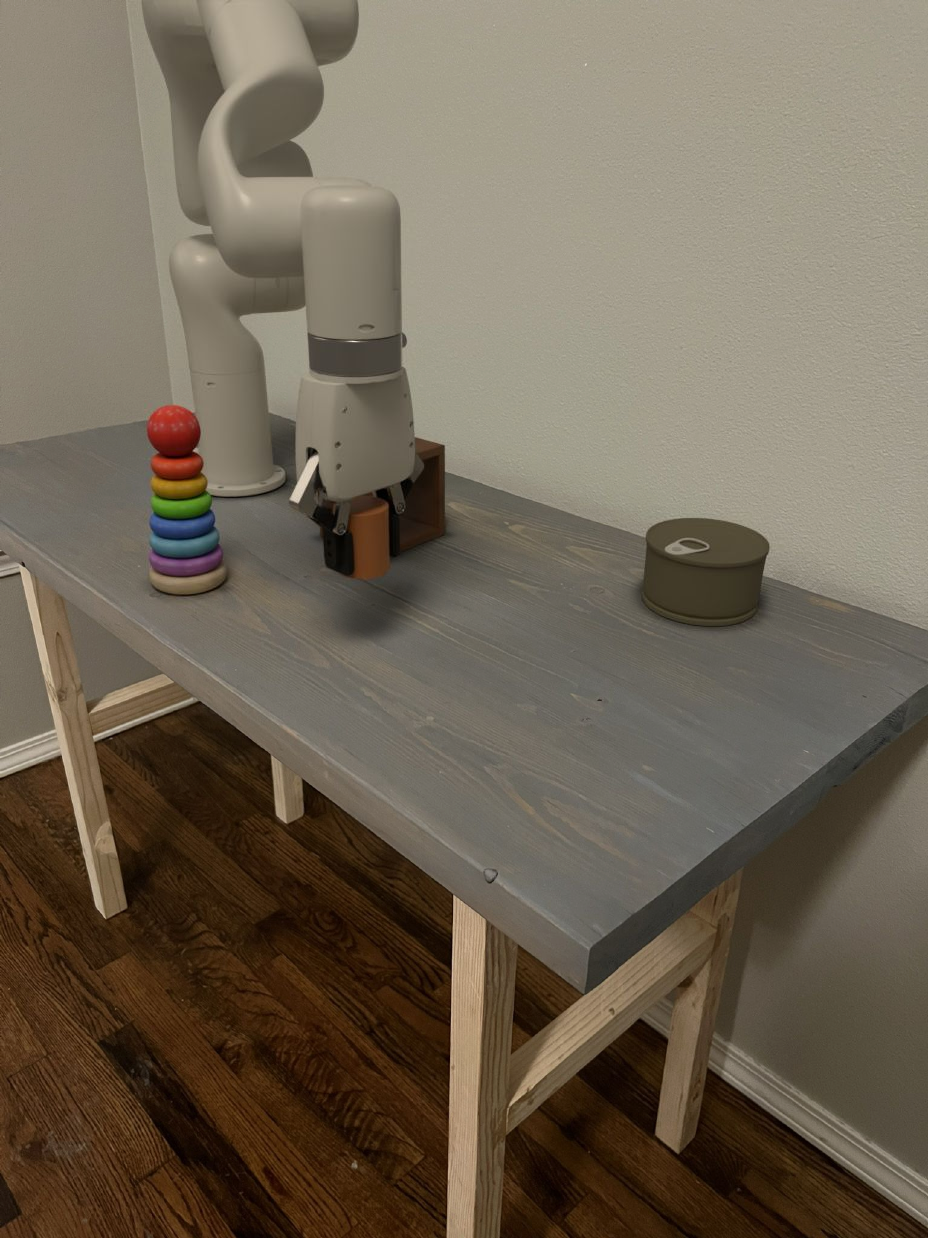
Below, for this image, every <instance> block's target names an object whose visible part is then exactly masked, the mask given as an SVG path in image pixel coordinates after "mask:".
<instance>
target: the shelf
mask: <svg viewBox="0 0 928 1238" xmlns="http://www.w3.org/2000/svg"><path fill="white" fill-rule="evenodd" d="M415 451H416V453H417V454H418V456H419V457H420V459H421V460H422V461H423V463H424V469H423V470H422V472H421V473H420V475H419V476H418V477H417V479H416V480H415V482H414V483H413V486H412V489H411V490H410V492H409V494H408V496H407V497H406V499H405V509H404V511H403V512H402V513H401V514H399V522H400V553H401V552H404V551H406V550H409V549H411V548H414V547H417V546H419V545H422V544H424V543H427V542H430V541H431V540H435V539H437V538H440V537H443V536H444V535H446V445H445V444H442V443H438V442H435V441H431V440H427V439H424V438H420V437H418V436H415ZM319 493H320V489H318V490H317V492H316V495H317V501H318V500H319ZM361 496H373V494H372V492H371V493H368V494H365V495H361ZM333 505H334V502H333V504H332V511H331V513H332V514H333V515H334V510H333ZM319 538H320V539H322V540H323V529H322V528H320V527H319Z"/></svg>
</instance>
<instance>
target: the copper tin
mask: <svg viewBox="0 0 928 1238" xmlns="http://www.w3.org/2000/svg"><path fill="white" fill-rule="evenodd" d="M335 508H336V503H334V505H333V510H334V514H335ZM346 531H348V532H351V533H352V535H353V552H354V572H353V574H352V575H349V576H345V575H343V574H341V573H338V574H339V575H341V576H343V577H345V578H349V579H355V580H371V579H375V578H380V577H382V576H384V575H386V574H387V573H388V572H389V571H390V569H391V556H390V541H389V504H388V502H387V501H385V500H383V499H381V498H378V497H373V496H358V497H355V498H352V501H351V507H350V513H349V519H348V525H347V530H346Z"/></svg>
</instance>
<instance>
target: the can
mask: <svg viewBox="0 0 928 1238" xmlns="http://www.w3.org/2000/svg"><path fill="white" fill-rule="evenodd" d="M645 543H646V546H645V547H646V548H645V558H644V559H645V560H644V569H643V570H644V571H643V580H642V581H643V582H642V589H641V600H642V602H643V604H644V605H645V606H646V607H647V608H648V609H649V610H650V611H652V612H654V614H657V615H659V616H660V617H662V618H665V619H668V620H671V621H674V622H678V623H681V624H685V625H691V626H698V627H699V626H700V627H726V626H731V625H732V626H733V625H736V624H737V625H738V624H741V623H743V622H746V621H747V620H750V619H752V617H754V615H756V612H757V611H758V604H759V599H760V593H761V587H762V582H763V577H764V571H765V567H766V566H765V565H766V561H767V556H768V555H769V552H770V543H769V541H768V539H767V538H766V537H765V536H764V535H762V534H761V533H759V532H758V531H756V530H755V529H752V528H750V527H749V526H745V525H742V524H739V523H735V522H730V521H727V520H722V519H714V518H707V517H706V518H705V517H680V518H672V519H667V520H664V521H663V520H662V521H660V522H657V523H655V524H653V525H651V526H650V527H649V528H648V529H647V531H646V533H645Z"/></svg>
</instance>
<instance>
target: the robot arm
mask: <svg viewBox="0 0 928 1238" xmlns="http://www.w3.org/2000/svg"><path fill="white" fill-rule="evenodd" d="M141 10H142V16H143V22H144V27H145V30H146V34H147V38H148V40H149V43H150V45H151V48H152V51H153V54H154V56H155V58H156V61H157V62H158V65H159V68H160V70H161V73H162V76H163V79H164V82H165V85H166V89H167V93H168V98H169V107H170V121H171V122H170V123H171V137H172V149H173V151H172V152H173V163H174V176H175V185H176V192H177V198H178V202H179V203H178V204H179V206H180V210H181V211H182V212H183V214H184V216H185V217H186V218H187V219H188V220H189V221H190V222H192V223H193V224H196V225H199V226H204V227H210V230H211V232H212V233H201V234H195V235H191V236H188V237H185V238H183V239H181V240H179V241H178V242H177V243H176V244H175V245H174V246H173V248H172V249H171V251H170V254H169V258H168V259H169V260H168V266H169V267H168V268H169V274H170V275H169V276H170V279H171V284H172V288H173V292H174V295H175V298H176V303H177V306H178V309H179V314H180V318H181V322H182V328H183V333H184V338H185V343H186V344H185V345H186V354H187V359H188V368H189V374H190V383H191V391H192V400H193V407H194V415H195V417H196V418H197V420H198V422H199V425H200V430H201V435H200V440H199V443H198V446H197V447H196V448H195V449H194V450H193V451H194V452H196V453H198V454H199V455H200V456H201V457H202V459H203V463H204V465H203V469H202V471H201V473H203V474H204V475H205V476H206V478H207V482H208V484H207V488H206V491H208V492H209V493H210V495H211V496H213V497H215V496H216V497H225V498H227V497H228V498H229V497H231V498H232V497H249V496H256V495H261V494H264V493H268V492H271V491H274V490H276V489H278V488H279V487H281V486H282V485H284V484H285V482H286V480H287V479H286V470H285V469H283V468H282V467H281V466H279V465H278V464H274V458H273V446H272V436H271V425H270V422H271V421H270V412H269V411H270V410H269V400H268V391H267V390H268V388H267V377H266V376H267V375H266V366H265V355H264V352H263V348H262V346H261V343H260V342H259V340H258V339H257V338H256V337H255V336H254V334H252V332H251V331H250V330H249V329H248V328H247V327H246V326H245V325H244V324H243V322H242V321H241V319H240V318H241V317H242V316H243V317H244V316H248V315H256V314H258V315H259V314H273V313H274V314H275V313H287V312H295V311H299V310H302V309H303V308H305V314H306V315H305V316H306V331H307V333H306V334H307V335H306V336H307V348H308V349H307V350H308V351H307V353H308V369H309V373H306V374H302V375H301V379H300V383H299V389H298V395H297V405H296V413H295V445H294V446H295V473H296V485H295V487H294V489H293V491H292V493H291V495H290V497H289V500H288V506H289V507H290V508H292V509H294V510H296V511H297V512H299V513H301V514H302V515H305V516H306V517H307V518H308V519H310V520H311V521H312V522H313V523H315V525H316V527H318V528H319V529H320V528H322V529H323V539H322V541H323V543H322V545H323V559H324V565H325V567H326V568H327V569H329V570H332V571H334V572H336V573H338V574H339V573H341V574H343V575H345V576H349V575H352V574H353V572H354V552H353V535H352V533H351V532H348V531H346V530H347V525H348V519H349V513H350V507H351V501H352V498H355V497H358V496H361V495H365V494H368V493H371V492H372V494H373V497H378V498H381V499H383V500H385V501H387V502H388V504H389V541H390V557H392V558H396V557H398V556H400V554H401V552H400V522H399V514H401V513H402V512H403V511H404V509H405V499H406V497H407V496H408V494H409V492H410V490H411V489H412V486H413V483H414V482H415V480H416V479H417V477H418V476H419V475H420V473H421V472H422V470H423V469H424V463H423V461H422V460H421V459H420V457H419V456H418V454H417V453H416V451H415V437H416V436H415V420H414V419H415V418H414V410H413V409H414V408H413V401H412V394H411V387H410V383H409V382H410V381H409V378H408V372H407V369H406V368H405V367H404V366H403V349H404V348H406V346H407V344H408V339H407V336H406V334H405V332H403V314H402V313H403V311H402V309H403V307H402V306H403V305H402V304H403V303H402V300H403V299H402V298H403V297H402V218H401V217H402V215H401V207H400V203H399V200H398V198H397V197H396V195H395V194H394V193H393V192H392V191H391V190H389V189H387V188H384V187H381V186H374V185H372V184H371V183H369V182H368V181H365V180H363V179H359V178H355V177H314V173H313V172H314V171H313V168H312V165H311V162H310V159H309V157H308V155H307V153H306V151H305V150H304V148H303V147H302V146H300V145H299V144H298V143H297V142H294V141H292V140H293V139H295V138H297V137H299V136H300V135H301V134H303V133H304V132H305V131H306V130H307V129H308V128H309V127H310V126H311V125H312V124H313V123H314V122H315V121H316V119H317V118H318V117H319V114H320V113H321V110H322V108H323V104H324V101H325V100H324V99H325V84H324V82H323V76H322V74H321V71H320V68H319V67H323V66H326V65H331V64H335V63H337V62H339V61H342V60H343V59H345V58H346V57H348V55H349V54H350V53H351V51H352V50H353V48H354V46H355V43H356V41H357V37H358V34H359V33H358V32H359V25H360V24H359V23H360V11H359V2H358V0H141ZM318 489H320V493H319V500H318V499H317V502H316V500H315V497H316V495H317V490H318ZM333 502H334V503H336V508H335V514H334V515H333V514H332V513H331V511H332V504H333ZM341 574H340V575H341ZM343 575H342V576H343ZM345 576H344V577H345Z"/></svg>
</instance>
